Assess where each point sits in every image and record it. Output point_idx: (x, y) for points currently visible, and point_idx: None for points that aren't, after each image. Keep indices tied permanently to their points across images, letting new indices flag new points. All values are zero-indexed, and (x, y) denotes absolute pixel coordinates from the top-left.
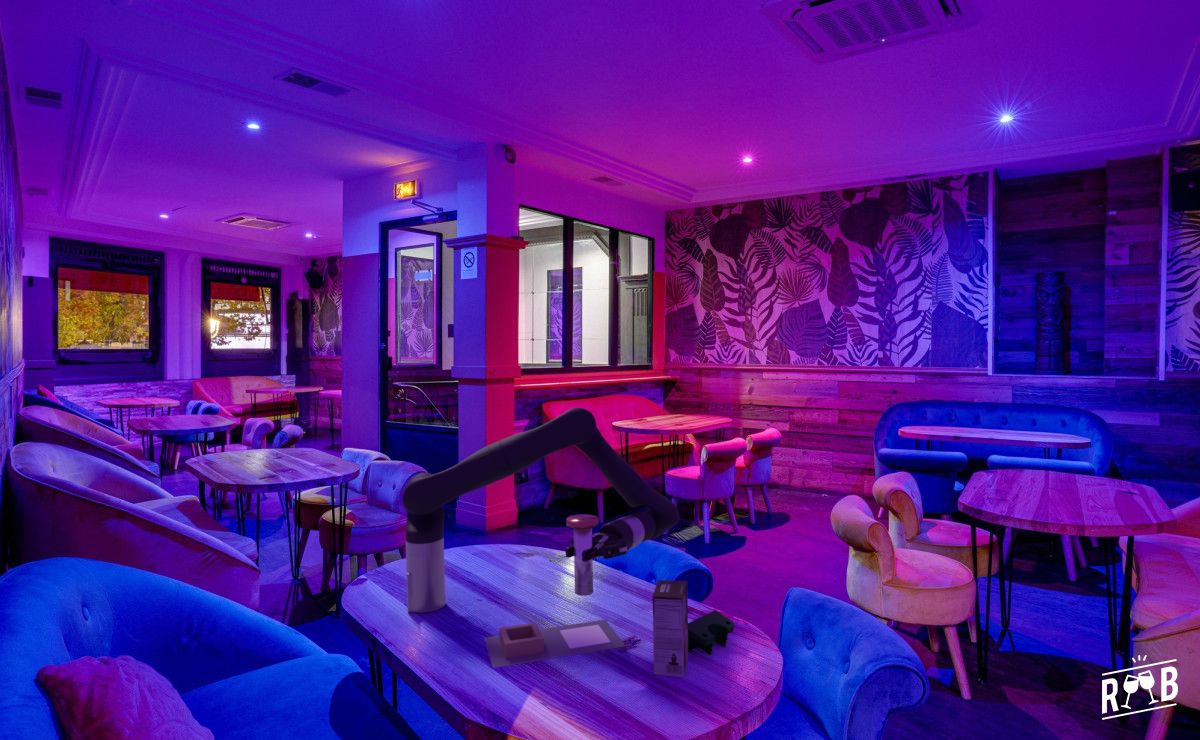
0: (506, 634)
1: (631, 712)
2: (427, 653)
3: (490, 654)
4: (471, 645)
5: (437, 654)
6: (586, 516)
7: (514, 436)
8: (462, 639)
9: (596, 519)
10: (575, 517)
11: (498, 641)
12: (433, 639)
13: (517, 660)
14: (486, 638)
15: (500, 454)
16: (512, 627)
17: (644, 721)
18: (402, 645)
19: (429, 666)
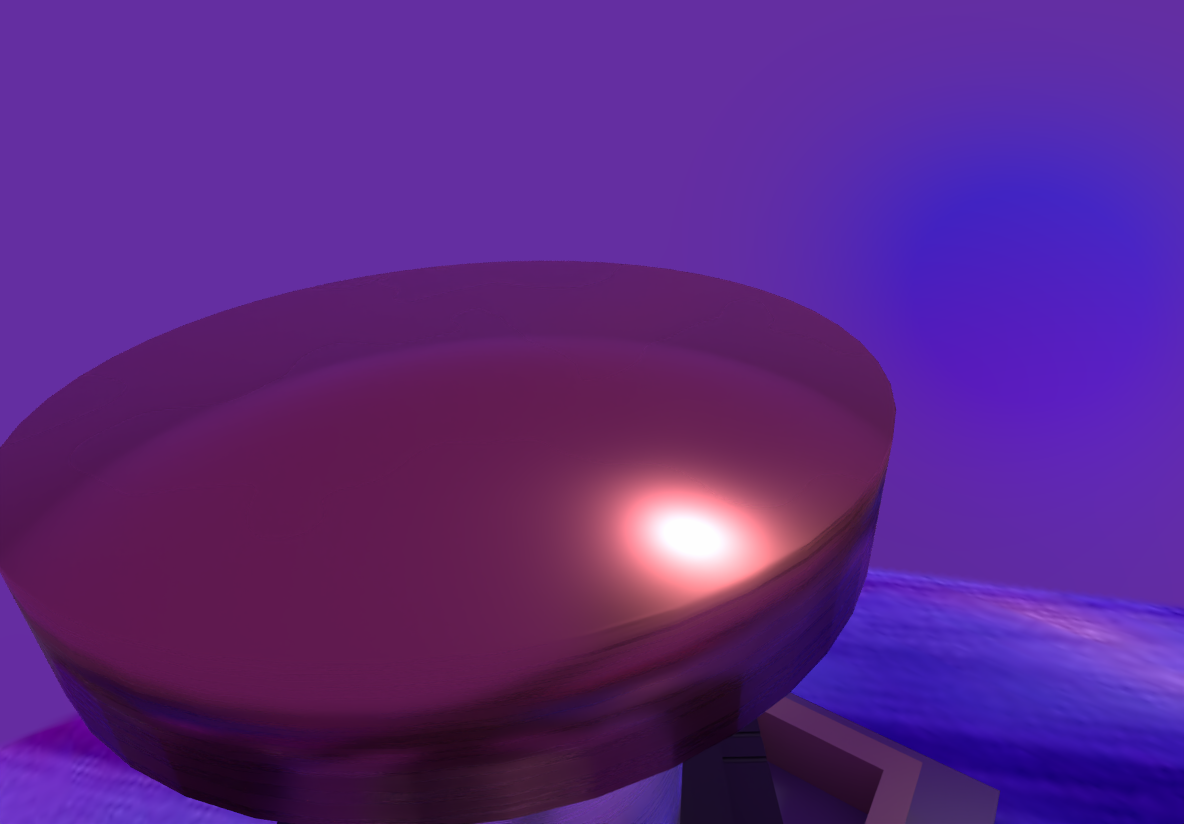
0: (822, 734)
1: (108, 776)
2: (1022, 641)
3: (809, 707)
4: (1012, 773)
5: (993, 655)
6: (489, 465)
7: None
8: (1107, 787)
9: (63, 433)
10: (688, 350)
11: (912, 805)
12: (1164, 714)
13: None
14: (984, 794)
15: None
16: (885, 808)
17: (53, 760)
18: (1145, 626)
19: (910, 602)
